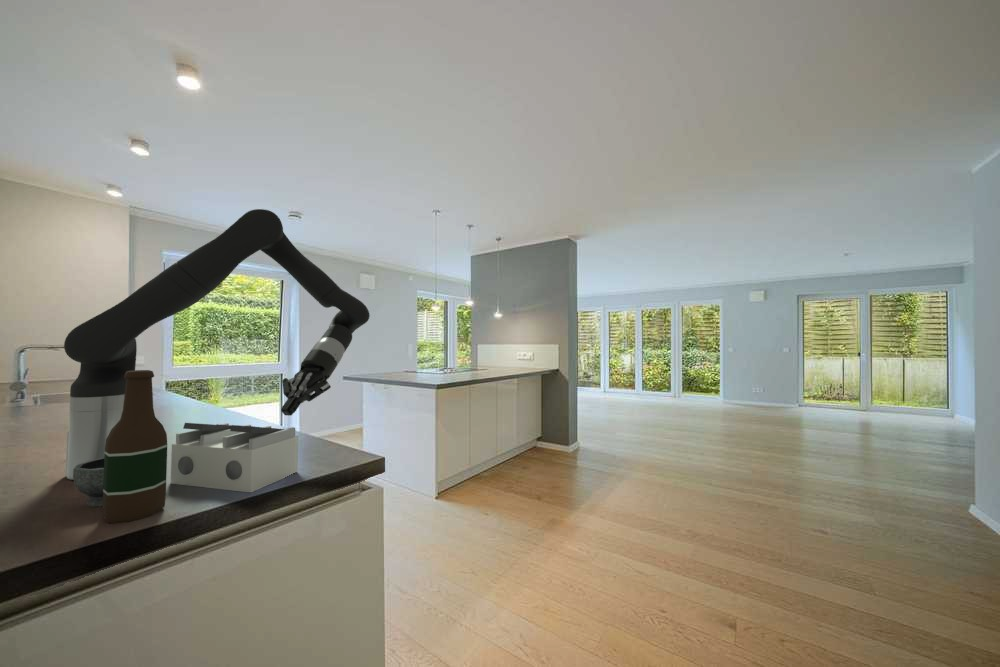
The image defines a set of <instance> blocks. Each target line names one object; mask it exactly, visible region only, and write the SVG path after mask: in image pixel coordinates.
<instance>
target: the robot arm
mask: <svg viewBox="0 0 1000 667" xmlns="http://www.w3.org/2000/svg"><path fill="white" fill-rule="evenodd" d="M258 251H261V252H262V253H263V254H265V255H267V256H268V257H269V258H270V259H272V260H274V261H275V262H276V263H277V264H278V265H280V266H281V267H282V268H283V269H284V270H285V271H286V272H288V274H289V275H290V276H291V277H292V278H293V279H294V280H295V281H296V282H297V283H298V284H299V285H300V286H301V287H302V288H303V289H304V290H305V291H306V292H307V293H308V294H310V296H311V297H313V299H314V300H316V302H318V304H320V305H321V306H322V307H323V308H326V309H328V308H331V307H335V308H336V309H338V310H339V311H338V312H336V314H335V315H334V316H333V318H332V319H331V322H330V324H329V326H328V328H327V329H326V331H325V332H324V333H323V335H322V336H321V337H320V339H319V340H318V341H317V342H315V344H314V346H313V347H312V348H311V349H310V351H309V352H308V353H307V354H306V356H305V358H304V359H303V360H302V362H300V369H299V371H298V372H297V373H295V374H294V375H293V376H294V377H292V378H289V379H288V378H287V377H285V378H283V379H282V381H281V382H282V392H283V395H284V396H285V397H286V398H287V399H286V401H285V402H284V404H283V405H282V407H281V409H280V410H281V413H283V415H284V416H288V417H289V416H293V414H294V413H295V412H297V409H298V408H299V407H300V406H301V404H304V403H305V402H306V401H307V402H311V401H313V400H314V399H316V398H317V397H319V396H320V395H322V394H323V393H325V392H327V391H328V390H330V389H331V387H332V386H331V385H330V384H329V381H328V379H329V378H331V376H332V374H333V372H334V371H335V370H336V368H337V367H338V365H339V363H340V362H341V361H342V358H343V356H344V354H345V353H346V352H347V349H348V347H349V346H350V344H351V342H352V340H353V333H354V332H355V331H357V330H358V328H360V327H362V326H363V325H365V324H366V323H367V322H368V321H369V320H370V317H371V315H370V311H369V309H368V307H367V306H366V305H365V304H364V303H363V302H362V301H361V300H360V299H359V298H356V297H355V296H353V295H352V294H350V293H348V292H346V291H345V290H344V289H342V288H341V287H340V286H339V285H338V284H337V283H336V282H335V281H334V280H333V279H332V278H331V277H330V276H328V274H326V272H325V271H324V270H322V269H321V268H320V267H319V266H318V265H316V264H315V263H313V262H312V261H311V260H310V259H309V258H308V257H306V256H305V255H304V254H303V253H301V252H300V251H299V249H298V248H296V246H295V245H294V244H293V243H292V242H291V241H290V239H289V238H288V236H287V234H286V233H285V232H284V226H283V223H282V221H281V219H280V217H279V216H278V215H277V214H276V213H275V212H273V211H272V210H270V209H265V208H254V209H250V210H249V211H246V212H245V213H244V214H243V215H242V216H240V217H239V218H238V219H237V220H236V221H235V222H233V224H231V225H230V226H229V227H227V229H225V230H224V231H223V232H222V233H220V234H219V235H218V236H216V237H215V238H214V239H212V240H211V241H208V242H207V243H205V244H203V245H202V246H200V247H198V248H197V249H195V250H194V251H192V252H190V253H189V254H187V255H186V256H183V257H182V258H180V259H178V261H176V262H174V263H173V264H171V265H170V266H168V267H167V268H166V269H164V270H163V271H161V272H160V273H159V274H157V275H156V276H154V278H152V279H150V280H149V281H148V282H146V283H145V284H144V285H142V286H141V287H139V288H138V289H136V291H134V292H132V293H131V294H130V295H129V296H128V297H126V298H125V299H123V300H122V301H120V302H119V303H117V304H115V305H114V306H112V307H110V308H107V309H106V310H104V311H102V312H101V313H100V314H99V313H98V314H97V315H96V316H94V317H91V318H89V319H88V320H86V321H85V322H82V323H80V324H79V325H77V326H76V327H74V328H73V329H71V331H70V332H69V333H68V334H67V335H66V337H65V340H64V342H63V347H64V348H63V349H64V352H65V354H66V356H68V357H69V359H71V360H73V361H75V362H77V363H80V368H79V374H78V376H77V377H76V379H75V380H74V381H73V382H72V383H71V385H70V390H69V393H70V394H69V419H68V431H67V433H66V451H65V452H66V453H65V476H66V479H68V480H70V481H71V480H73V481H74V478H73V469H74V468H75V467H76V466H77V465H78V464H82V463H85V462H88V461H92V460H96V459H101V458H104V453H105V445H106V439H107V437H108V435H109V433H110V431H111V429H112V428H113V427H114V426H115V425H116V424H117V423H118V422H119V420H120V419H121V415H122V411H123V405H124V396H125V388H126V378H124V376H125V373H126V372H127V371H133V370H136V366H137V364H136V362H137V353H138V352H137V350H138V349H137V348H138V347H137V346H138V345H137V340H136V338H138V337H139V336H140V335H142V334H143V333H144V332H145V331H146V330H147V329H149V328H151V327H153V325H155V324H156V323H159V322H161V321H163V320H166V319H167V318H169V317H172V316H174V315H176V314H178V313H180V312H182V311H184V310H186V309H188V308H190V307H191V306H193V305H195V304H196V303H198V302H199V301H201V300H202V299H203V298H205V297H206V296H207V295H209V294H210V293H211V292H213V291H214V290H215V289H216V288H218V287H219V286H220V285H221V284H222V283H224V281H225V280H226V279H227V278H228V277H229V276H230V275H231V273H232V272H234V270H235V269H236V268H237V267H238V266H239V265H241V263H242V262H244V261H245V260H246V259H248V258H249V257H251V256H252V255H254V254H255V253H257V252H258Z"/></svg>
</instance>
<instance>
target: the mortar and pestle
mask: <svg viewBox="0 0 1000 667" xmlns="http://www.w3.org/2000/svg"><path fill="white" fill-rule="evenodd" d="M73 478H74V480H73V482H74V486H75V488H77V490H78V491H79V492H80V493H82V494H84V495H86V496H88V498H87V504H86V506H87V507H93V508H95V507H96V508H97V507H103V480H104V458H101V459H96V460H92V461H88V462H85V463H82V464H78V465H77V466H76V467H75V468H74V469H73Z"/></svg>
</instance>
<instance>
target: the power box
mask: <svg viewBox="0 0 1000 667" xmlns="http://www.w3.org/2000/svg"><path fill="white" fill-rule="evenodd" d="M219 425H230V424H229V423H228V422H227V423H219ZM244 426H252V424H246V425H244ZM262 427H263V426H262ZM263 428H272V425H267V426H264V427H263ZM284 429H285V430H281V431H277V432H274V433H270V434H257V433H245V432H234V431H230V429H227V430H223V431H212V430H195V429H191V430H188V431H183V432H179V433H175V434H176V435H175V442H174V443H172V444H171V455H170V456H171V458H170V459H171V460H170V462H171V463H170V484H172V485H179V486H181V485H182V486H189V487H190V486H191V487H198V488H207V489H208V488H209V489H216V490H225V491H226V490H227V491H235V492H243V493H252V492H255V491H257V490H260V489H262V488H264V487H267V486H269V485H271V484H274V483H276V482H279V481H281V480H283V479H286V478H287V476H288V477H290V476H292V475H294V474H293V473H295V472H297V473H298V471H299V470H298V468H299V466H298V465H299V464H298V463H299V436H298V435H296V427H288V428H284ZM291 474H292V475H291ZM295 474H296V473H295ZM289 475H290V476H289ZM285 477H286V478H285Z"/></svg>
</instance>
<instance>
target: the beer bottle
mask: <svg viewBox="0 0 1000 667" xmlns="http://www.w3.org/2000/svg"><path fill="white" fill-rule="evenodd" d="M154 377H155V375H154V370H150V369H140V370H139V369H138V370H137V369H135V370H133V371H127V372H126V373H125V376H124V378H126V388H125V396H124V405H123V411H122V415H121V419H120V420H119V422H118V423H117V424H116V425H115V426H114V427H113V428H112V429H111V431H110V433H109V435H108V437H107V439H106V445H105V453H104V480H103V506H102V517H103V519H104V520H105V521H106V522H107V523H108V524H115V523H117V524H118V523H131V522H133V521H134V522H135V521H137V520H140V519H145V518H147V517H151V516H153V515H155V514H156V513H158V512H160V511H162V510H163V509H164V508H165V506H166V498H167V496H166V495H167V474H168V473H167V468H168V466H167V465H168V437H167V431H166V430H165V427H164V425H163V424H162V423H161V422H160V421H159V420H158V418H157V417H156V415H155V410H154V398H153V396H154V394H153V393H154V392H153V378H154Z"/></svg>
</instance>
